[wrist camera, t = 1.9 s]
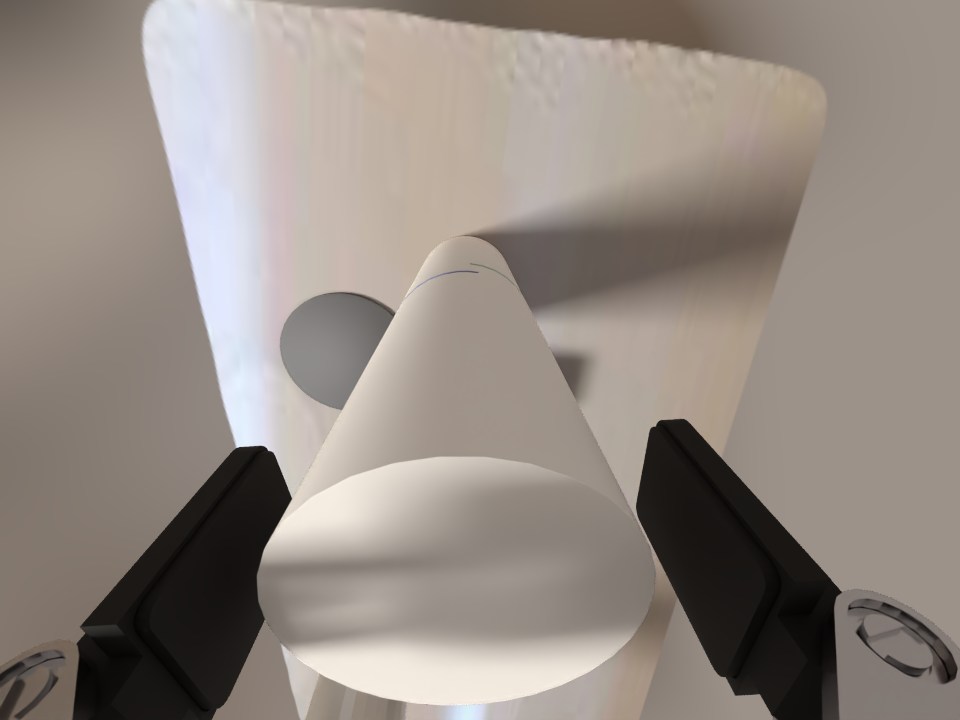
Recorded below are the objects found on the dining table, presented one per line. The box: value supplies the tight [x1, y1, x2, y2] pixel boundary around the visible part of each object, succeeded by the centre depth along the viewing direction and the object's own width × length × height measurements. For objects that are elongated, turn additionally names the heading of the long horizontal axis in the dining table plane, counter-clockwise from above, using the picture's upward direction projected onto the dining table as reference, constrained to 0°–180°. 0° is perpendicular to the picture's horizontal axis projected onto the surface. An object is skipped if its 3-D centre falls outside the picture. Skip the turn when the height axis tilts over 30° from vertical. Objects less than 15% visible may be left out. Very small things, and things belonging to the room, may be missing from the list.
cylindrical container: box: [257, 236, 656, 705], centre depth 18 cm, size 7×7×25 cm
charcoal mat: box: [280, 293, 394, 410], centre depth 31 cm, size 11×11×1 cm
